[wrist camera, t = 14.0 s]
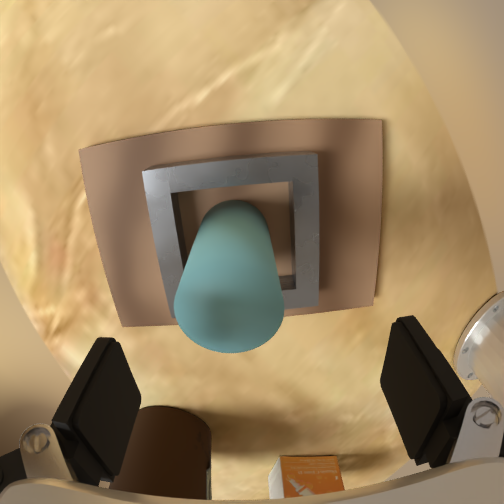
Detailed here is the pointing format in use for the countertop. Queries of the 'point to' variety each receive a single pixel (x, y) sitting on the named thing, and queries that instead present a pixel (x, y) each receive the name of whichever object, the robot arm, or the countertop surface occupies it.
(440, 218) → the countertop surface
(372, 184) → the collar board
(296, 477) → the small box
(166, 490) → the olive oil
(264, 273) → the teal peg
